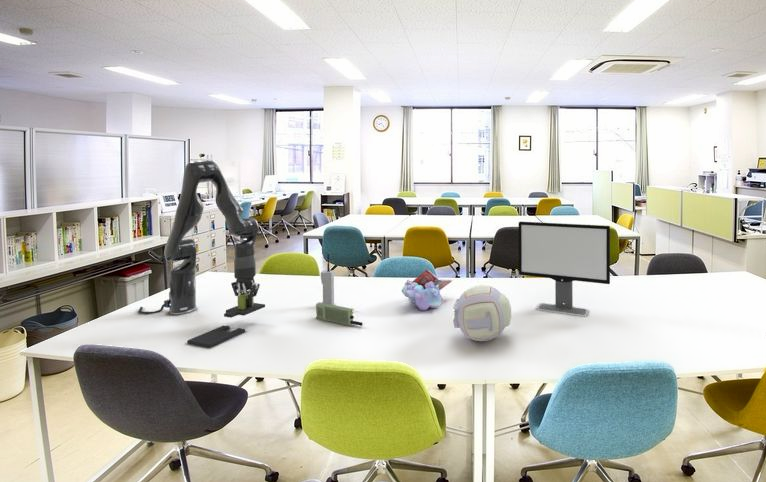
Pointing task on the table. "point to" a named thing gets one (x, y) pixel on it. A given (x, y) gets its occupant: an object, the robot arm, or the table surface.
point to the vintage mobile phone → (328, 285)
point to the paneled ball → (482, 313)
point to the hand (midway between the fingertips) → (245, 306)
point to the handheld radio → (336, 314)
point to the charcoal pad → (215, 336)
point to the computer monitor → (564, 258)
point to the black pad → (243, 312)
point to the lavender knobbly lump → (425, 290)
